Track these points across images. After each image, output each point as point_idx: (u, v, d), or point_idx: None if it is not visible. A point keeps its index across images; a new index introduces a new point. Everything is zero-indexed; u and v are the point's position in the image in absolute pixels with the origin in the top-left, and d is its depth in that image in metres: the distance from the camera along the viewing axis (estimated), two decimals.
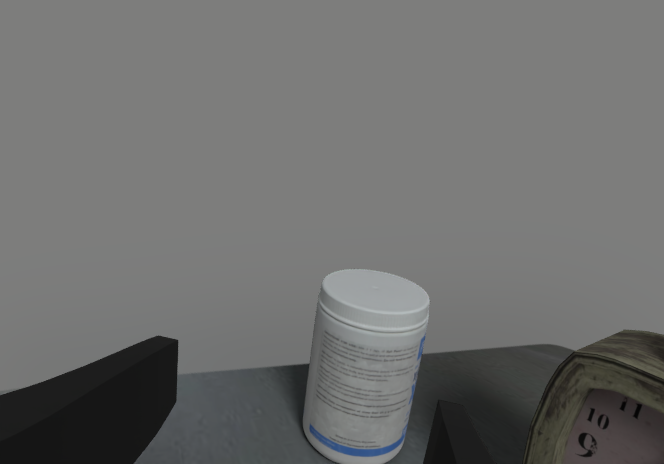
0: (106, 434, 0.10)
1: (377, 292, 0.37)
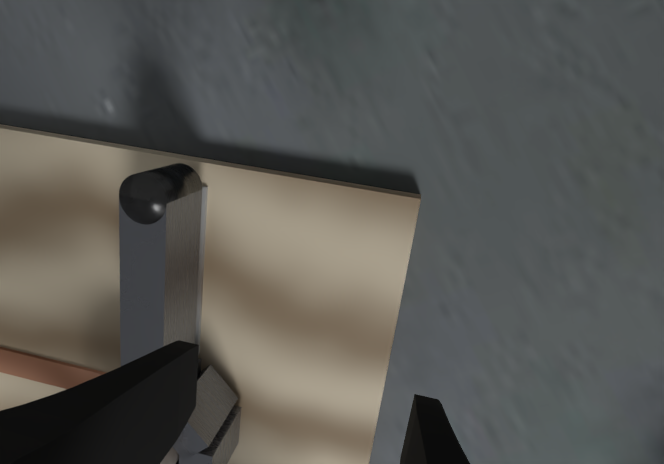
0: (131, 441, 0.10)
1: None
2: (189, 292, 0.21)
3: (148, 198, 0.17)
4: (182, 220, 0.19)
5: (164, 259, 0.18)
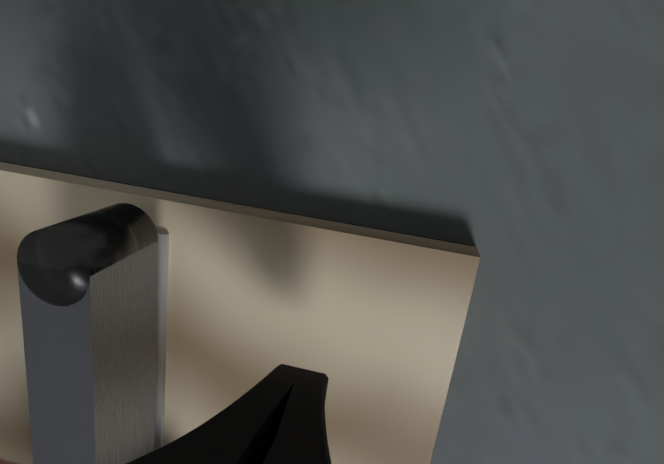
0: None
1: None
2: (141, 387, 0.14)
3: (61, 267, 0.11)
4: (124, 293, 0.12)
5: (90, 358, 0.12)
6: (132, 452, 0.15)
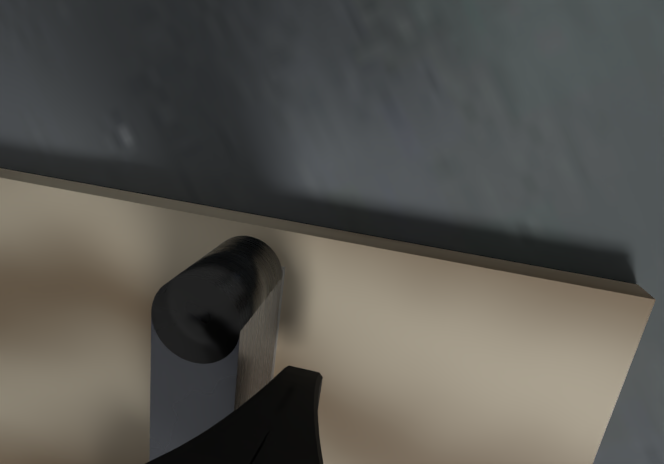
0: None
1: None
2: None
3: (206, 320, 0.09)
4: (258, 342, 0.11)
5: None
6: None
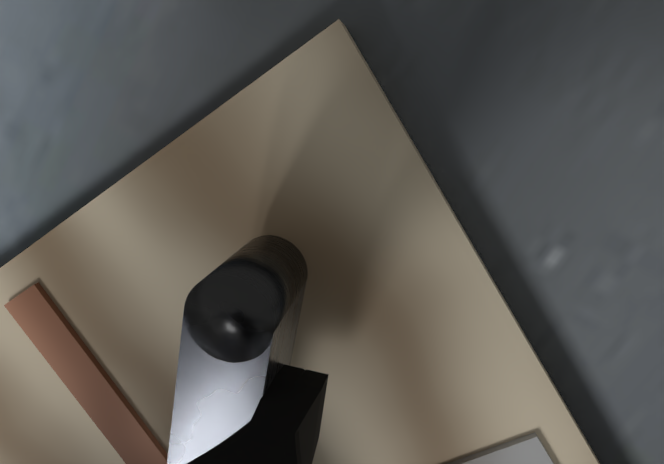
0: None
1: None
2: None
3: (239, 320, 0.09)
4: (283, 343, 0.11)
5: None
6: None
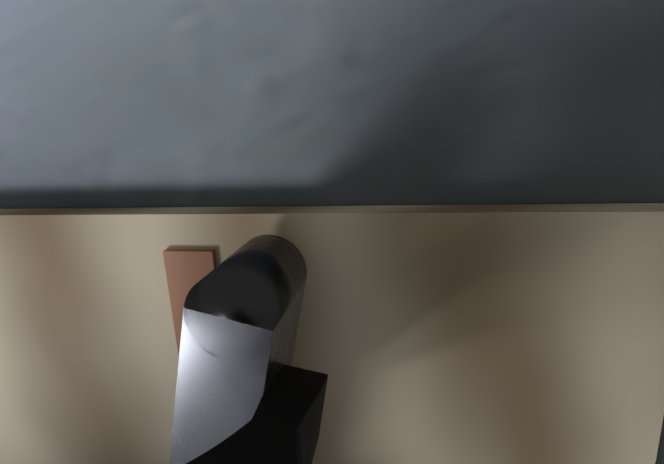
0: None
1: None
2: None
3: (239, 318, 0.09)
4: (283, 342, 0.11)
5: None
6: None
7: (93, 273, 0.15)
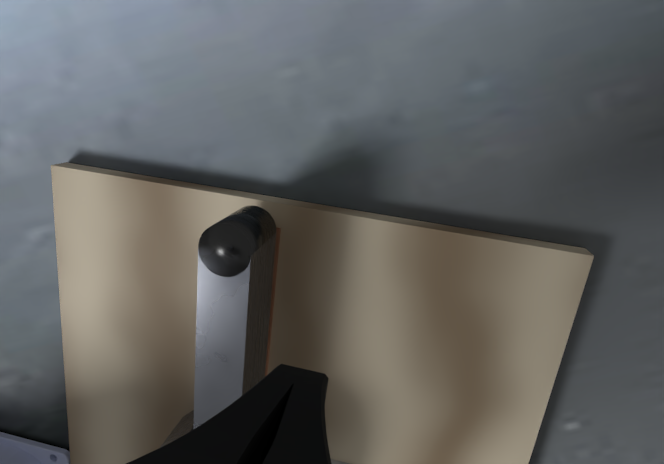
0: None
1: None
2: (262, 340, 0.19)
3: (231, 250, 0.16)
4: (261, 269, 0.18)
5: (246, 313, 0.17)
6: None
7: (189, 230, 0.21)
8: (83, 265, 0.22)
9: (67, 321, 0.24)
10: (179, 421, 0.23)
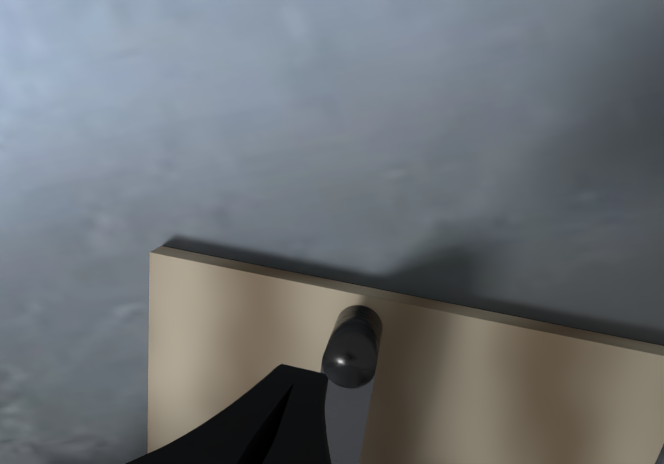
0: None
1: None
2: None
3: (355, 364, 0.17)
4: None
5: (365, 422, 0.17)
6: None
7: (287, 319, 0.21)
8: (175, 346, 0.23)
9: (154, 397, 0.24)
10: None
